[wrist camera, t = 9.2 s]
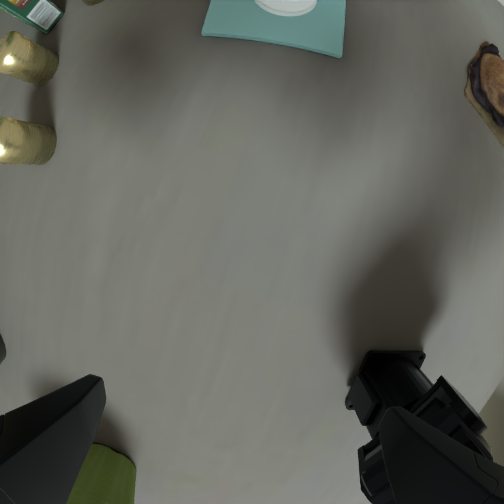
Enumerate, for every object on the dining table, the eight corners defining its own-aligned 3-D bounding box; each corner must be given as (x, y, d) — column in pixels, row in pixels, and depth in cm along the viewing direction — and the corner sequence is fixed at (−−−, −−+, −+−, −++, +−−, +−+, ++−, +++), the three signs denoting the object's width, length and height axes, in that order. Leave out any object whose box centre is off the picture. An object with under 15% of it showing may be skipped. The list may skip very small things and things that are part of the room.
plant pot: (121, 488, 27) (103, 544, 16) (56, 438, 25) (23, 495, 14) (175, 476, 26) (161, 550, 15) (99, 419, 23) (60, 496, 12)
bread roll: (502, 155, 19) (527, 155, 15) (454, 89, 17) (479, 81, 14) (522, 93, 17) (543, 90, 13) (479, 36, 15) (499, 26, 12)
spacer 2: (59, 125, 17) (10, 113, 11) (53, 165, 18) (2, 164, 12) (33, 127, 17) (-15, 119, 11) (27, 164, 18) (-22, 164, 12)
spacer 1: (63, 50, 15) (23, 26, 10) (52, 83, 16) (8, 65, 10) (38, 56, 15) (-2, 37, 9) (28, 88, 16) (-15, 73, 10)
